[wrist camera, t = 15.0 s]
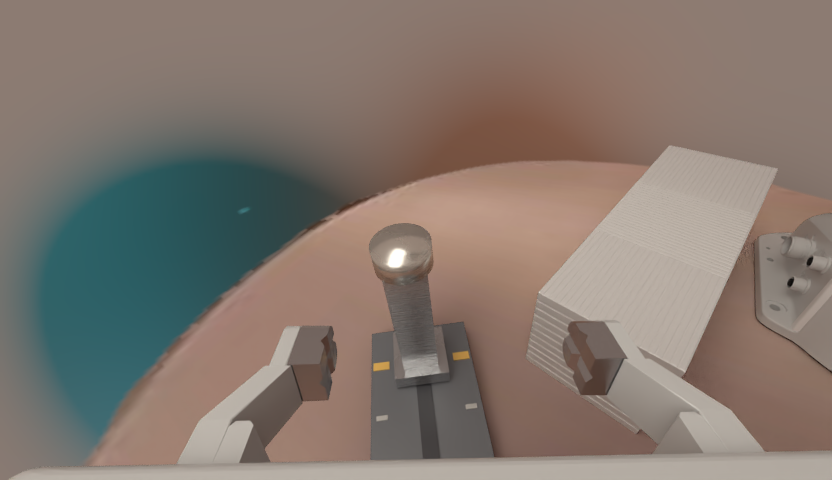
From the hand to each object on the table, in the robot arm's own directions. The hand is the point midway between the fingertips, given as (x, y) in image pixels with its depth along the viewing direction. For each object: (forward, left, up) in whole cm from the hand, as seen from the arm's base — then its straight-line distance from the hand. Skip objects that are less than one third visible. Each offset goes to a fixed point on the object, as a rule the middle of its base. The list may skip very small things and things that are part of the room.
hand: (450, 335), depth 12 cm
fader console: (-5, -5, -23) cm, 24 cm away
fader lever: (-9, -7, -21) cm, 24 cm away
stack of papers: (-27, +13, -24) cm, 38 cm away
